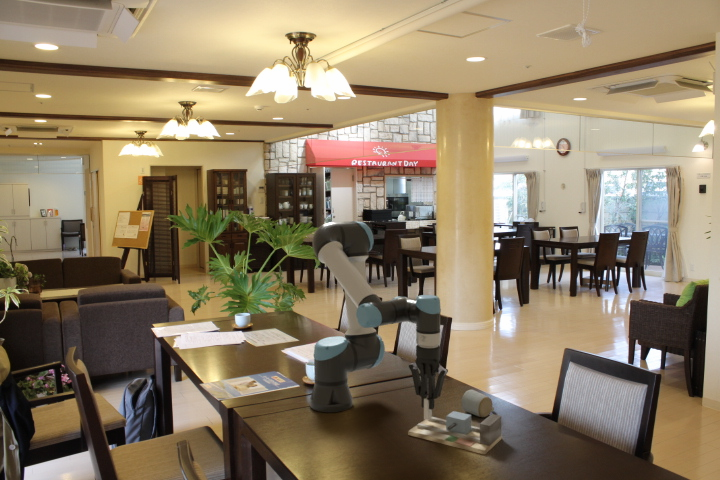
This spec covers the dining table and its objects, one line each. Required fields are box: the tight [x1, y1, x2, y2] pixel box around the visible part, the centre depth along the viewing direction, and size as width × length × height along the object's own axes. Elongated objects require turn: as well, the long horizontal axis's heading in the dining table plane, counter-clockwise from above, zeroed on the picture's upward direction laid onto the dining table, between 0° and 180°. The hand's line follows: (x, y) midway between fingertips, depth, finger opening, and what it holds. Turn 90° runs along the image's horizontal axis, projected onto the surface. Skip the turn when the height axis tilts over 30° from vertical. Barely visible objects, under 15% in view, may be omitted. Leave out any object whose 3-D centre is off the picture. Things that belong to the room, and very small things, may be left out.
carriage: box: [445, 410, 472, 435], centre depth 175 cm, size 6×9×5 cm, turn 145°
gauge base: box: [407, 413, 503, 455], centre depth 176 cm, size 25×13×7 cm, turn 55°
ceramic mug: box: [461, 389, 495, 418], centre depth 195 cm, size 11×8×8 cm
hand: (427, 418), depth 183 cm, fingers closed
